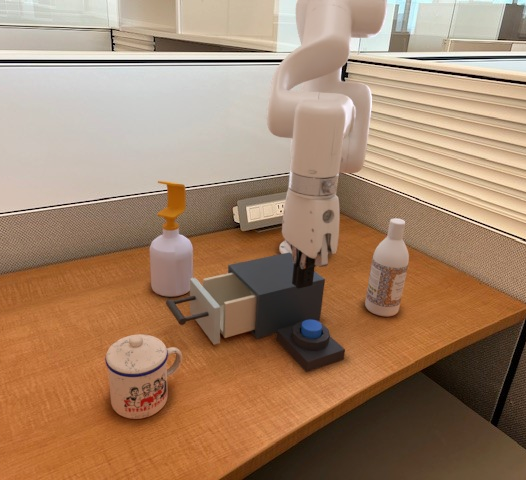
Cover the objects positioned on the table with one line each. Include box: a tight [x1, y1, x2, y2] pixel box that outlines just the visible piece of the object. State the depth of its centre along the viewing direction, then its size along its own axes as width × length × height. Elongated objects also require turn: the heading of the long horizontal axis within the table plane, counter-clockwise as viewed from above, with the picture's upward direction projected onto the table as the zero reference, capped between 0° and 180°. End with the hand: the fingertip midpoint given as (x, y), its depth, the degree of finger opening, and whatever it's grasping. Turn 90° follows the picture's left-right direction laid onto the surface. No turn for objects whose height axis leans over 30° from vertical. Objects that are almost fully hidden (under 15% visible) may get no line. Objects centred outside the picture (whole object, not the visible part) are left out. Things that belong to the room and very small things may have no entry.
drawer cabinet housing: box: [227, 252, 326, 340], centre depth 96 cm, size 15×13×10 cm
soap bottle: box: [149, 180, 194, 298], centre depth 101 cm, size 9×9×25 cm
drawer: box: [165, 272, 257, 346], centre depth 91 cm, size 19×11×8 cm, turn 117°
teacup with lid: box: [104, 333, 183, 420], centre depth 73 cm, size 12×9×12 cm
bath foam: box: [364, 217, 410, 317], centre depth 97 cm, size 7×7×20 cm
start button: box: [301, 319, 322, 339], centre depth 86 cm, size 4×4×2 cm
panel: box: [275, 321, 346, 373], centre depth 87 cm, size 10×8×4 cm
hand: (302, 284), depth 82 cm, fingers closed
